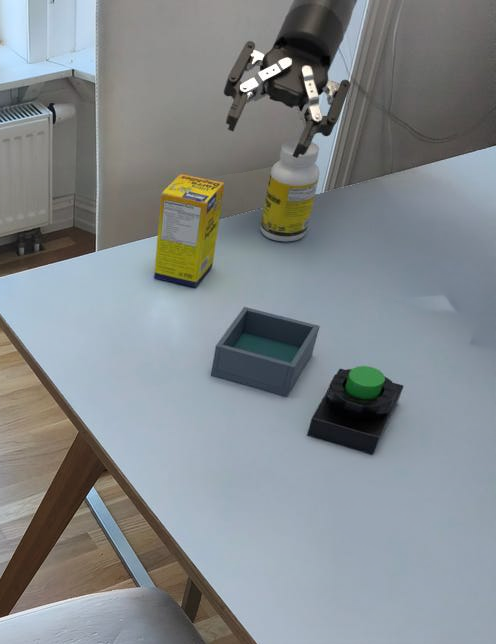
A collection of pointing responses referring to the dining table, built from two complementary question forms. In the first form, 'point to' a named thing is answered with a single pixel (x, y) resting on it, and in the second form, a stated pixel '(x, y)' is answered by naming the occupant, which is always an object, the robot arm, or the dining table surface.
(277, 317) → the basket
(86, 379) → the dining table surface
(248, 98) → the robot arm
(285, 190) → the pill bottle
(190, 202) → the supplement box
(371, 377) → the button
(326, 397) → the control block
